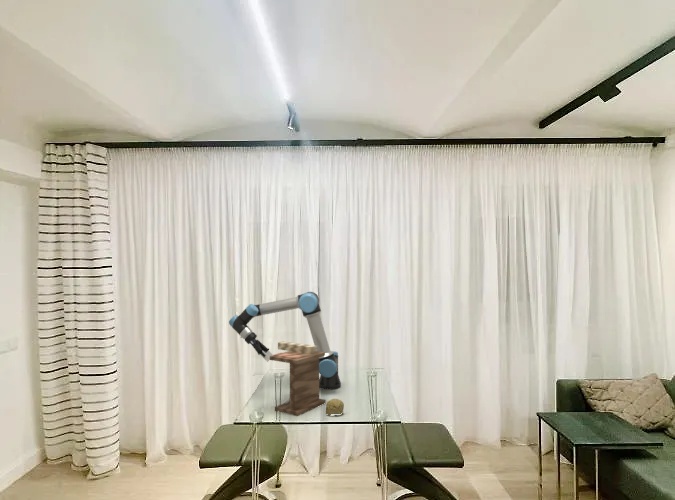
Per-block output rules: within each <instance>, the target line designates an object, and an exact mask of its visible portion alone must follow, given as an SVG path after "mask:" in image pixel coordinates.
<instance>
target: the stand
mask: <svg viewBox="0 0 675 500" xmlns="http://www.w3.org/2000/svg"><path fill="white" fill-rule="evenodd" d="M322 356H325V352H320V351H317V353H315V354H307V353H300V352H293V351H283V352H278V353H274V354H273V356H270V360H269V361H272V360H273V361H274V362H275V361H276V362H280V363H286V364H287V363H288V364H289V401H287V402H285V403H283V404H280V405H277V406H275V407H274V411H275V412H278V411H279V412H278V413H283V414H287V415H290V416H296V417H298V416H300V415H303V414H305V413H307V412H310V411H311V410H314V409H317V408H318V406H319V407H321V406H323V405H325V404H326V399H323V398H320V388H319V379H320V373H319V357H322ZM324 403H325V404H324ZM322 404H323V405H322ZM320 405H321V406H320Z"/></svg>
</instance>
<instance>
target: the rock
mask: <svg viewBox="0 0 675 500" xmlns="http://www.w3.org/2000/svg"><path fill="white" fill-rule="evenodd" d="M344 408H345V403H344V401H342V399H339V398H331V399H329V400H328V401H327V402H326V403H325V415H326V414H328V415H331V414H341V413H342V412H343V413H344ZM328 415H327V416H328Z"/></svg>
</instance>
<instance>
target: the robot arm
mask: <svg viewBox="0 0 675 500" xmlns="http://www.w3.org/2000/svg"><path fill="white" fill-rule="evenodd" d="M296 309H299V310H301V313H302V315H303V317H304V318H305V319H306V321H307V325H308V328H309V331H310V334H311V338H312V341H313V346H317V351H320V352H325V356H322V357H319V389H320V390H321V389H323V390H336V389H337V390H338V389H339V388H341V387H342V382H341V380H340V376H339V353H338V351H333V350H331V349H330V345H329V342H328V338H327V335H326V332H325V328H324V326H323V325H324V324H323V321H322V318H321V312H322V310H321V307H320V298H319V295H318V294H317V293H316V292H314V291H307V292H304V293H301V294H298V295H296V296H294V297H290V298H284V299H279V300H274V301H269V302H264V303H259V304H253V303H250V304H248V305H247V306H246V307H245V309H244V310H243V311H242V312H241V313H240V314H239V315H238V314H235V315H233V316H232V317H231V318H230V319H229V321H228V325H230V327H231V328H232V329H233V330H234V331H235V332H236V333H237V334H238V336H240V338H241V339H243V340H244V342H246V344H247V345H251V346H252V348H253V349H254V351H255V352H257V353H256V354H257V355H258V356H261V357H262V358H263V359H264V360H265V362H266V363H269V361H274V360H270V356H273V355H274V354H273V353H272V352H271V350H270V348H268V347H266V345H264V344H263V342H261V341H260V340H259V339H257V336H258V335H257V334H256V333H255V332H254V331H253V330H252V329H251V328H250V327H249V326H248V324H249V323H250V322H251V320H253V319H254V318H255V317H261V316H265V315H269V314H271V315H272V314H275V313H281V312H286V311H291V310H296Z"/></svg>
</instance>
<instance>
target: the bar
mask: <svg viewBox="0 0 675 500" xmlns="http://www.w3.org/2000/svg"><path fill="white" fill-rule="evenodd" d="M277 350H280V351H281V350H282V351H285V352H287V351H293V352H300V353H307V354H315V353H317V346H315V345H314V344H313V345H312V344H303V343H297V342H288V341H280V342H277Z"/></svg>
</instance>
